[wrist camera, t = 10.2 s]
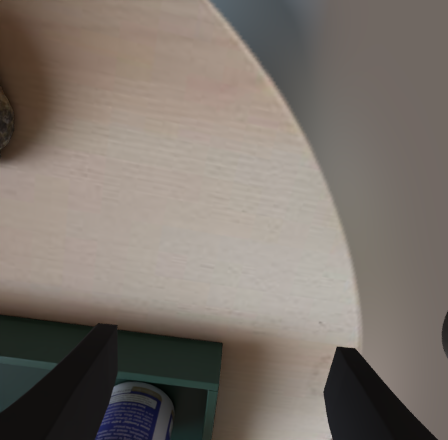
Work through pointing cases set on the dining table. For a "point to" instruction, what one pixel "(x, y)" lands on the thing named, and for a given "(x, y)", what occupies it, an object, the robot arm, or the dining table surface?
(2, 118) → the rock
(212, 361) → the long green tray
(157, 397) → the pill bottle
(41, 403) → the robot arm
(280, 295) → the dining table surface
